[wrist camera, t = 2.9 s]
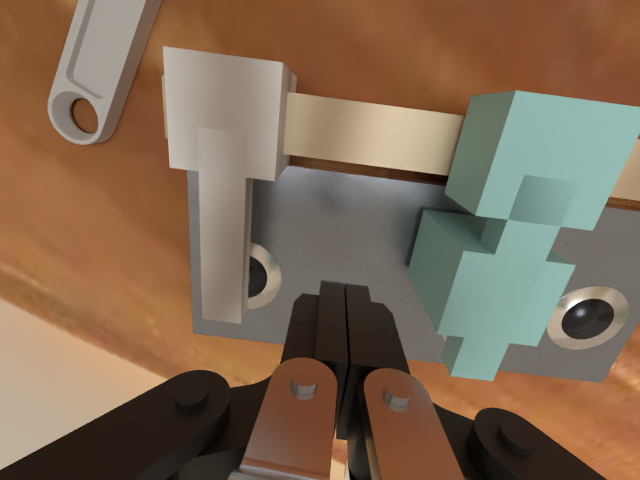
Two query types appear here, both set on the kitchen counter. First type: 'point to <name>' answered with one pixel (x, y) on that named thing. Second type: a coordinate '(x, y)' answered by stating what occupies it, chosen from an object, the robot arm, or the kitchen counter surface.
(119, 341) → the kitchen counter surface
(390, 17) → the kitchen counter surface
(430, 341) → the bolt plate
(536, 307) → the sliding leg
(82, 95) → the adjustable wrench
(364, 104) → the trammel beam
